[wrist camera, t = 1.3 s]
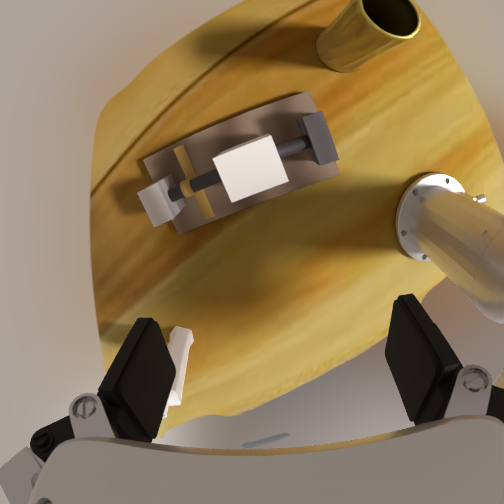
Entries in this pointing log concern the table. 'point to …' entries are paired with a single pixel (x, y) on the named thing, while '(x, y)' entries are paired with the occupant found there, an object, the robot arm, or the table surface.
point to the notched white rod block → (250, 167)
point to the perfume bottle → (178, 362)
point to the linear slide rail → (227, 136)
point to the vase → (366, 32)
